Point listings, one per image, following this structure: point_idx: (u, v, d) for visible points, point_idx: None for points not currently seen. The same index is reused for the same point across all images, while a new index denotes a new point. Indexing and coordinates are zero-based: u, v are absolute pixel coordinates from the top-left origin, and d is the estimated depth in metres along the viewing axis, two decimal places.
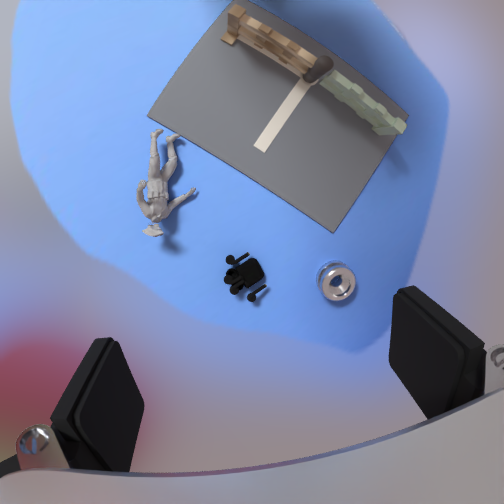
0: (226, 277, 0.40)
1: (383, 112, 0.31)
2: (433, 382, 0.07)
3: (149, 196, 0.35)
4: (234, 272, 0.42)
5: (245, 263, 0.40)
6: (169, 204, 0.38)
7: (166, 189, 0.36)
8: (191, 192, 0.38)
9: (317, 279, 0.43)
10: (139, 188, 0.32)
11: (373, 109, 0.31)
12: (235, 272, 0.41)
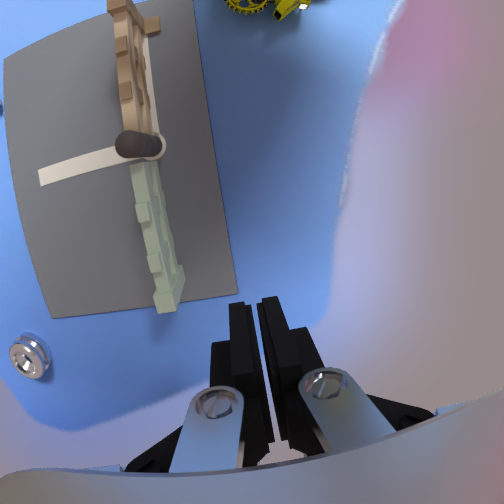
0: None
1: (152, 269, 0.21)
2: (273, 394, 0.08)
3: None
4: None
5: None
6: None
7: None
8: None
9: None
10: None
11: None
12: None
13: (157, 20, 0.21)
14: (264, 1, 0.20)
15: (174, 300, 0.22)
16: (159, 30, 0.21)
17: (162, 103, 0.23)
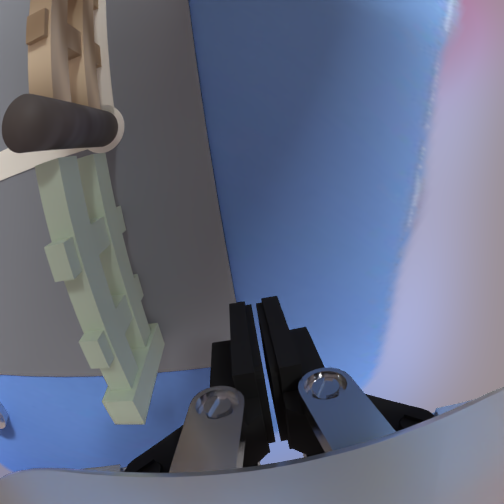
0: None
1: (93, 364, 0.10)
2: None
3: None
4: None
5: None
6: None
7: None
8: None
9: None
10: None
11: (84, 332, 0.10)
12: None
13: None
14: None
15: (139, 408, 0.11)
16: None
17: (120, 57, 0.12)
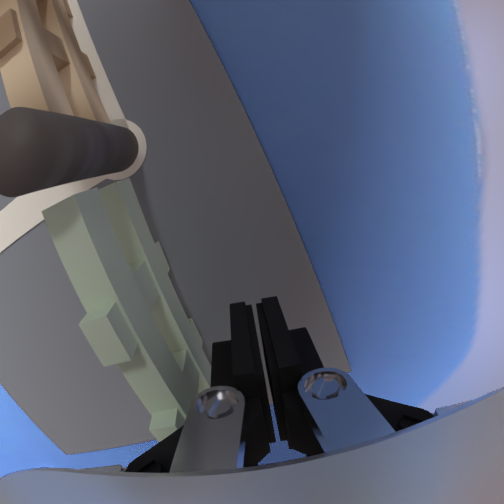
0: None
1: None
2: (272, 394, 0.08)
3: None
4: None
5: None
6: None
7: None
8: None
9: None
10: None
11: (150, 413, 0.08)
12: None
13: None
14: None
15: None
16: None
17: (116, 61, 0.10)
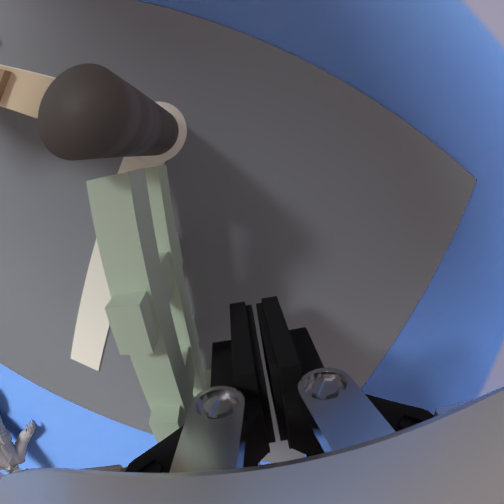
0: None
1: None
2: (272, 394, 0.08)
3: None
4: None
5: None
6: (17, 442, 0.15)
7: None
8: (30, 430, 0.14)
9: None
10: None
11: (150, 406, 0.08)
12: None
13: None
14: None
15: None
16: None
17: None
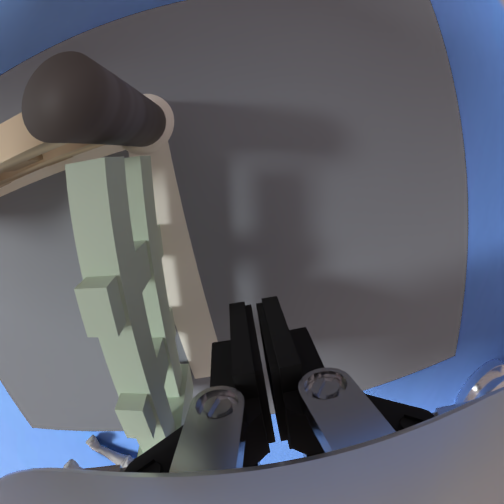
0: None
1: (131, 434, 0.07)
2: None
3: None
4: None
5: None
6: None
7: None
8: None
9: None
10: None
11: (118, 393, 0.08)
12: None
13: None
14: None
15: None
16: None
17: None
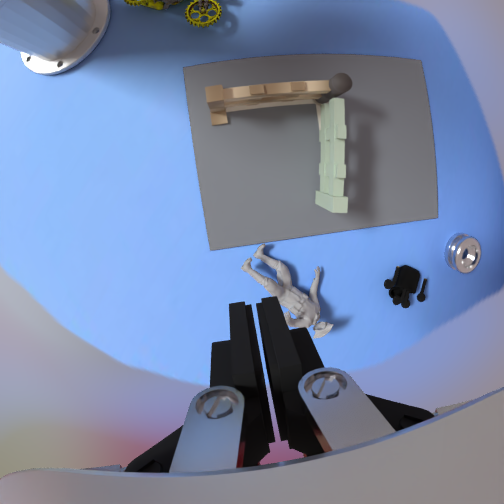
0: (394, 300, 0.36)
1: (339, 175, 0.27)
2: None
3: (295, 312, 0.34)
4: (395, 289, 0.37)
5: (400, 276, 0.36)
6: (311, 298, 0.36)
7: (299, 292, 0.35)
8: (319, 272, 0.35)
9: (448, 263, 0.36)
10: (287, 320, 0.31)
11: (333, 164, 0.27)
12: (396, 288, 0.37)
13: None
14: (209, 0, 0.25)
15: None
16: (222, 87, 0.29)
17: None
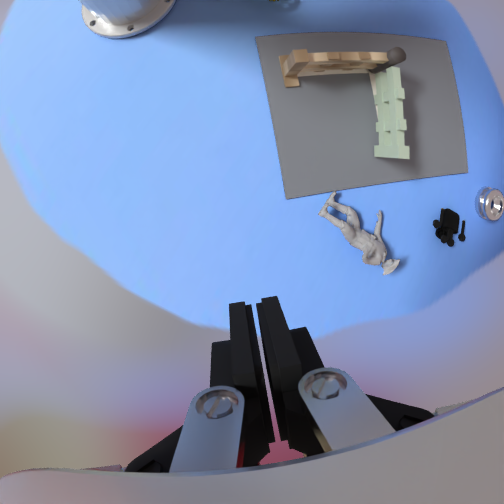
0: (442, 238, 0.38)
1: (401, 128, 0.29)
2: None
3: None
4: (440, 230, 0.40)
5: (445, 217, 0.38)
6: (377, 239, 0.38)
7: (368, 233, 0.37)
8: (381, 215, 0.38)
9: (478, 212, 0.39)
10: (366, 255, 0.34)
11: (395, 119, 0.29)
12: (441, 229, 0.39)
13: (284, 56, 0.31)
14: None
15: None
16: None
17: None
